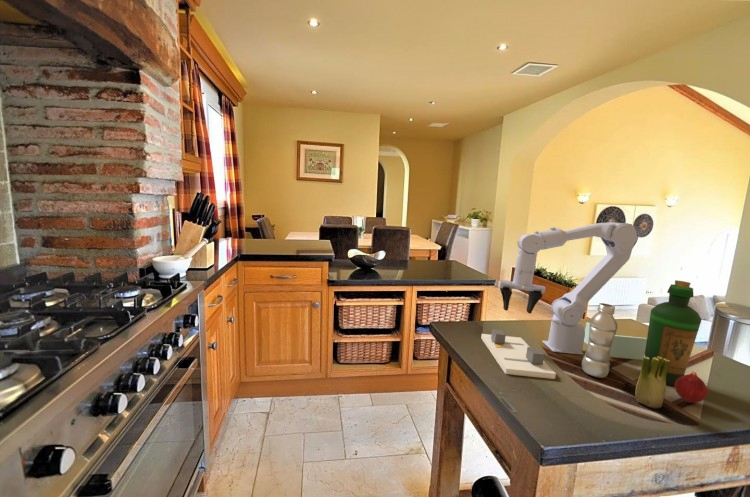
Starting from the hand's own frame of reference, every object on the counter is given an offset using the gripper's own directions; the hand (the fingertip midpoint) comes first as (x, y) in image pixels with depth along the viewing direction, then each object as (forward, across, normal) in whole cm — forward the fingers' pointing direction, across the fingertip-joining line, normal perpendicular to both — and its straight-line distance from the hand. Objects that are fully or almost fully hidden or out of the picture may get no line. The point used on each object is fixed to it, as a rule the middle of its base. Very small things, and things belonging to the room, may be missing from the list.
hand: (517, 311), depth 112 cm
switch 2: (+9, 0, -18) cm, 20 cm away
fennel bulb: (+10, +21, -32) cm, 40 cm away
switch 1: (+9, -7, -6) cm, 13 cm away
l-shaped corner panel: (+10, +34, +1) cm, 35 cm away
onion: (+10, +33, -29) cm, 45 cm away
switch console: (+10, -4, -12) cm, 16 cm away
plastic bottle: (+10, +16, -19) cm, 27 cm away
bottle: (+10, +36, -17) cm, 41 cm away
